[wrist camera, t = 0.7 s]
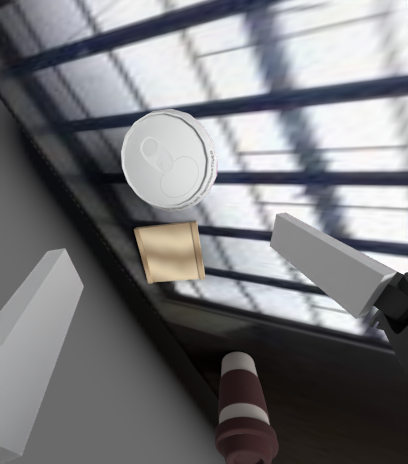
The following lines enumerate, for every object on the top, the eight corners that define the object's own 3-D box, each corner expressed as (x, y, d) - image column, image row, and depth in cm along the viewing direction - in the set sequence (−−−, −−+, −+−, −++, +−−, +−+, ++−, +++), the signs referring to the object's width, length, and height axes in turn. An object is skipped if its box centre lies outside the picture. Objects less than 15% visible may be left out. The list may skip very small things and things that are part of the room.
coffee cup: (265, 371, 41) (290, 477, 26) (226, 380, 43) (230, 483, 28) (250, 341, 38) (269, 440, 24) (209, 352, 40) (204, 449, 26)
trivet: (137, 227, 32) (133, 229, 30) (196, 220, 30) (195, 222, 29) (150, 279, 35) (148, 283, 34) (204, 275, 34) (204, 279, 32)
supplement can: (228, 168, 27) (239, 162, 13) (192, 205, 30) (168, 233, 15) (191, 127, 26) (159, 71, 12) (156, 169, 28) (94, 164, 14)
